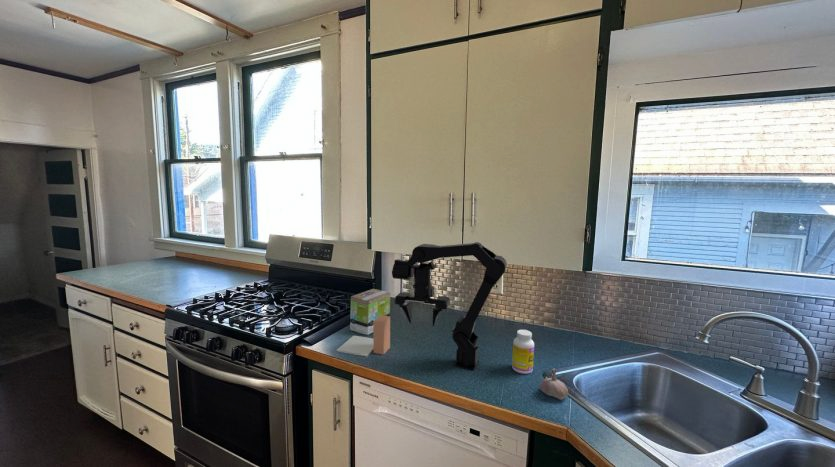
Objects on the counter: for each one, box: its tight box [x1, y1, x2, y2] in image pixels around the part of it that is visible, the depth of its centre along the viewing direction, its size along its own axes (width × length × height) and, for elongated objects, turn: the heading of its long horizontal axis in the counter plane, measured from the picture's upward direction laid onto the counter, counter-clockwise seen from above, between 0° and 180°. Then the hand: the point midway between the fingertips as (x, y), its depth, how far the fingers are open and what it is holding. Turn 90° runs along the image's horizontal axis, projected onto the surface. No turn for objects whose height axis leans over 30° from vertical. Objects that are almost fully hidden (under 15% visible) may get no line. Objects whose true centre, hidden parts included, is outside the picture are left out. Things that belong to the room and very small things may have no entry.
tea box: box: [349, 288, 391, 336], centre depth 146 cm, size 15×10×15 cm
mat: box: [336, 335, 373, 358], centre depth 129 cm, size 12×13×1 cm
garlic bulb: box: [539, 367, 569, 401], centre depth 100 cm, size 8×7×8 cm
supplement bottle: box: [511, 329, 535, 375], centre depth 114 cm, size 7×7×13 cm
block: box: [372, 315, 391, 355], centre depth 126 cm, size 4×6×12 cm, turn 163°
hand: (422, 324), depth 121 cm, fingers open, 8 cm apart
